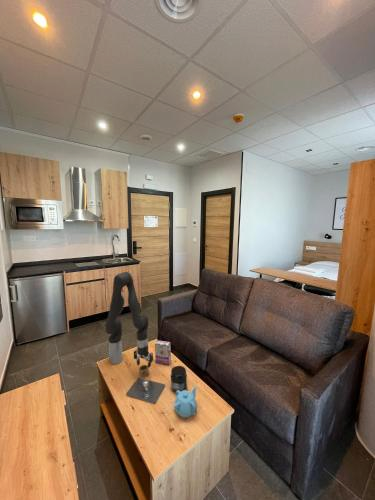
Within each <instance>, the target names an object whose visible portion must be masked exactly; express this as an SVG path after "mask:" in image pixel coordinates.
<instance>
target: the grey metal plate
mask: <svg viewBox="0 0 375 500" xmlns="http://www.w3.org/2000/svg"><path fill="white" fill-rule="evenodd" d="M165 387H166V384H165V383H162V382H157V381H153V380H149V379H145V378H144V377H140V376H139V377H137V379H136V380H135V381H134V382H133V384H132V385H131V386H130V388H129V389H128V390H127V391H126V393H125V395H126V397H130V398H134V399H136V400H140V401H145V402H147V403H151V404H154V405H156V403H157V401H158V400H159V398H160V396H161V394H162V393H163V391H164V389H165Z"/></svg>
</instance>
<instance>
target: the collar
mask: <svg viewBox="0 0 375 500" xmlns="http://www.w3.org/2000/svg"><path fill="white" fill-rule="evenodd" d="M149 368H150V367H149ZM149 368H148V364H142V365H140V366H139V370H138V373H139V377H140V378H145V377H148V376H149V375H150V373H149V372H150V371H149Z"/></svg>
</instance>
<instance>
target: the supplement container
mask: <svg viewBox="0 0 375 500" xmlns="http://www.w3.org/2000/svg"><path fill="white" fill-rule="evenodd" d="M187 376H188V374H187V369H186V367H185V366H183V365H176V366H173V367H172V368H171V371H170V389H171V390H172V392H173V393H176V391H178V390H179V391H180V392H181V391H183V390H187V388H188V384H187V383H188V381H187V379H188V377H187Z"/></svg>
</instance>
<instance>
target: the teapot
mask: <svg viewBox="0 0 375 500" xmlns="http://www.w3.org/2000/svg"><path fill="white" fill-rule="evenodd" d="M197 386H198V385H197V384H196V385H194V386H193V389H192V392H190V391H188V390H187V389H186V390H183V391H181V392H180V391H179V390H178V391H176V392H175V395H176V396H175V400H174V405H173V409H174V411H176V413H177V414H178V415H179V416H180V417H182V418H183V419H184V420H187V418H190V417H191V416H196V412H195V411H196V410H197V407H198V406H197V400H196V392H197V391H196V390H197Z"/></svg>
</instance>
